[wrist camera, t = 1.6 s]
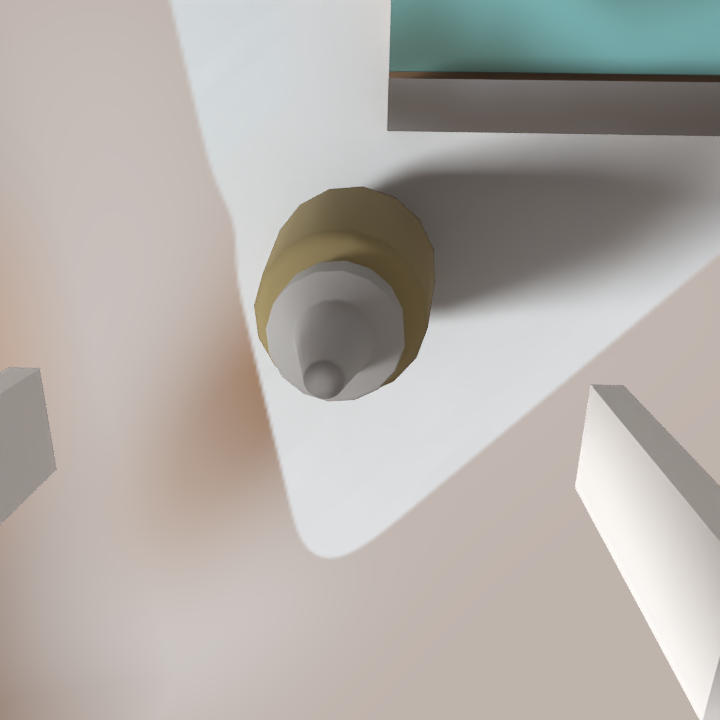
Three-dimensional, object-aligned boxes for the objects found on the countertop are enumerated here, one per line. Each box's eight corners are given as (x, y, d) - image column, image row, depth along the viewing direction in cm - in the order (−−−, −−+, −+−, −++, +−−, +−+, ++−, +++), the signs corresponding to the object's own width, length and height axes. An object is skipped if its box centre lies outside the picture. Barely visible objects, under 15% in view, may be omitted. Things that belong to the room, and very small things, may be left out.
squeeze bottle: (442, 190, 33) (497, 252, 16) (419, 336, 35) (445, 521, 19) (289, 171, 33) (180, 213, 16) (278, 318, 35) (176, 487, 19)
